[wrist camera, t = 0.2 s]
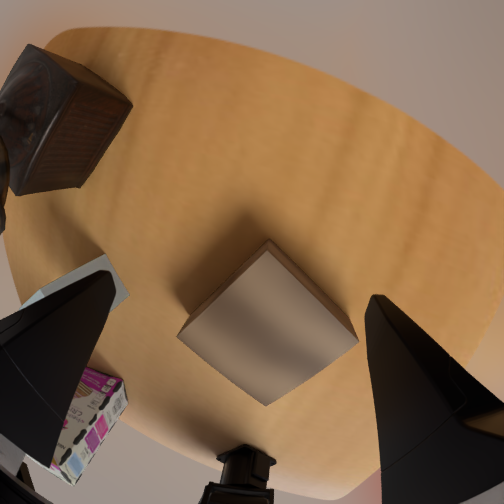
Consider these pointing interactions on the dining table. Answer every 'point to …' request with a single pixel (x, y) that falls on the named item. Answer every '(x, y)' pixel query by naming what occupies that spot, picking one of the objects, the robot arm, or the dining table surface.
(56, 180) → the manual coffee grinder
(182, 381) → the dining table surface
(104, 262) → the grey-blue block
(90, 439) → the candy bar box
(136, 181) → the dining table surface
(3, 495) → the robot arm
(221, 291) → the walnut block
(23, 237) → the dining table surface
